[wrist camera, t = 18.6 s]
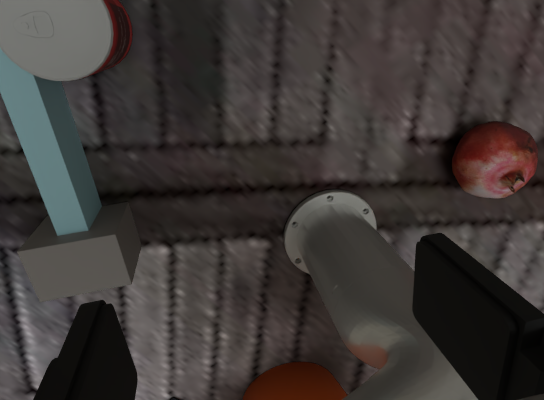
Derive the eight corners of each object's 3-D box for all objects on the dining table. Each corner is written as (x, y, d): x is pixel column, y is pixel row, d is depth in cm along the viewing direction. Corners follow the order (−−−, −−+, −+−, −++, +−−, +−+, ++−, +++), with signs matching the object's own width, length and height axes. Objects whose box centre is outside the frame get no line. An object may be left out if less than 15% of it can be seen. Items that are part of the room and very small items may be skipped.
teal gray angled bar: (190, 236, 47) (189, 273, 40) (65, 259, 45) (40, 302, 38) (126, -46, 34) (107, -67, 27) (-51, -30, 33) (-121, -49, 25)
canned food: (27, 0, 34) (-41, -15, 24) (109, -30, 35) (75, -57, 25) (72, 82, 38) (29, 98, 28) (147, 54, 38) (130, 60, 28)
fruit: (503, 107, 48) (574, 123, 39) (501, 173, 52) (566, 202, 43) (437, 127, 47) (494, 148, 38) (440, 193, 51) (492, 226, 42)
